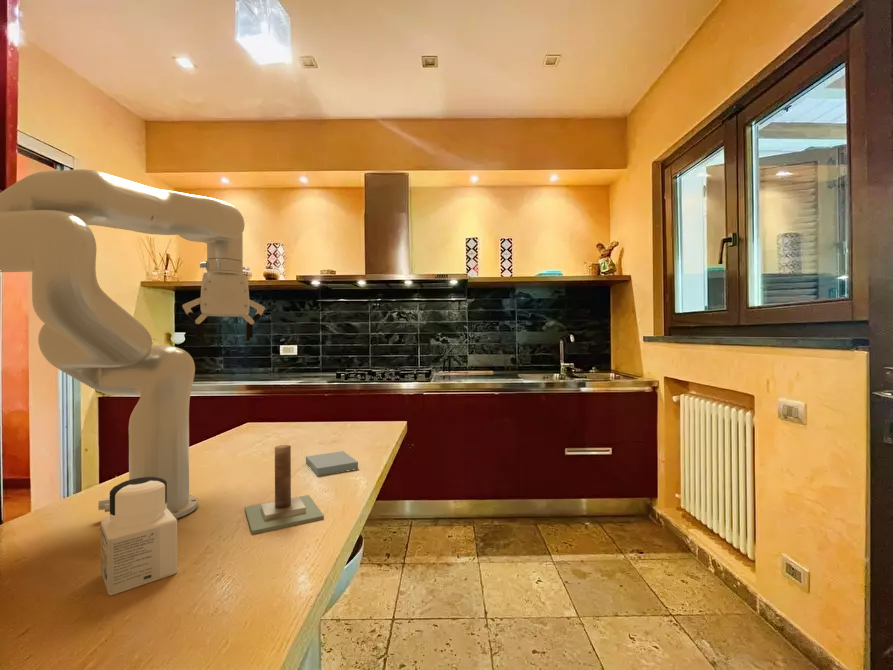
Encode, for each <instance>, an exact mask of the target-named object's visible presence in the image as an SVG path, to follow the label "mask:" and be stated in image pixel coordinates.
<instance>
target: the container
mask: <svg viewBox="0 0 893 670" xmlns="http://www.w3.org/2000/svg"><path fill="white" fill-rule="evenodd" d="M109 498H110V511H109V517H106V518H104V519H102V520H101V522H100V573H101V576H102V577H101V578H102V580H103V582H104V585H105V589H106V592H107V594H108V596H114V595H117V594H120V593H122V592H126V591H128V590H129V591H130V590H131V589H135V588H138V587H140V586H141V587H142V586H144V585H146V584H150V583H153V582H156V581H158V580H162V579H165V578H167V577H170V576H173V575H175V574H177V572H178V518H177V519H176V518H175V517H174V516H173V514H172V513H171V512H170V511H169V510H168V509H167V482H166V481H165V480H164V479H162V478H157V477H142V478H136V479H131V480H129V479H128V480H125V481H122V482H121V483H118V484H117V485H115V486H113V487H112V489H111V490H110V491H109Z"/></svg>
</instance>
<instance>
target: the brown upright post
mask: <svg viewBox="0 0 893 670" xmlns="http://www.w3.org/2000/svg"><path fill="white" fill-rule="evenodd" d="M291 446H292V445H289V444H283V445H277V446H275V447H274V501H275V502H273V501H269V502H270V503H268V502H264V503H265V504H262V503H260V504H261V512H262V514H263V517H264V520H265V521H268V520H273V519H278V518H283V517H288V516H293V515H298V514H303V513H306V507H305V505H304V504H303V502H302V501H301V499H300V498H299V497H300V496H296V497H297V498H295V497H292V478H291V477H292V470H291V469H292V467H291V466H292V465H291V464H292V462H291V461H292V460H291V459H292V453H291V452H292V450H291V449H292V447H291Z"/></svg>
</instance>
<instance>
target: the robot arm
mask: <svg viewBox="0 0 893 670" xmlns="http://www.w3.org/2000/svg"><path fill="white" fill-rule="evenodd" d="M89 226H97V227H104V228H111V229H118V230H123V231H124V230H125V231H131V232H135V233H140V234H141V233H142V234H147V235H160V236H179V237H180V238H182V239H184V240H187V241H189V242H197V243H205V244H206V260H205V261H203V262H201V261H199V268H200V269H203V270H205V271H206V272H203V273H202V279H201V285H200V286H201V287H200V297H198V298H195V299H192V300H191V301H187V302H185V303H183V304H182V309H183V310H184V312H185V314H186V316H187V317H188V318H189V319H191V320H192V321H193V322H194V323H195V324H196V339H200V340H199V341H200V342H204V341H205V325H204V321H205V320H206V318H208V317H221V318H222V317H224V318H225V317H226V318H227V317H228V318H229V317H230V318H233V317H234V318H242V319H243V320H244V321H245V322H246V325H244V328H245V329H244V330H245V332H244V333H245V336H244V337H245V341H246V342H251V339H253V336H254V333H253V331H254V330H253V328H254V327H253V326H254V324H255V323H256V322H257V321H258V320H259V319H260V318H261V317H262V315H263V313H265V309H266V307H265V306H264V305H262V304H260V303H258V302H256V301H254V300H252V299H250V291H249V282H248V277H247V274H244V272H243V271H244V270H243V268H244V267H243V261H244V260H243V258H244V257H243V255H244V254H243V253H244V252H243V250H244V247H243V246H244V244H243V241H244V240H243V237H244V236H243V235H244V234H243V233H244V231H245V220H244V217H243V215H242V213H241V211H240V210H239V209H238V208H237V207H235V206H234V205H233V204H232V203H229V202H227V201H224V200H220V199H216V198H213V197H207V196H202V195H198V194H197V195H196V194H189V193H185V192H179V191H174V190H169V189H160V188H156V187H152V186H148V185H145V184H142V183H139V182H135V181H132V180H128V179H125V178H123V177H119V176H115V175H112V174H110V173H106V172H103V171H98V170H94V169H93V170H92V169H82V168H81V169H67V170H47V171H39V172H34V173H32V174H29V175H26V176H25V177H24V178H22V179H20V180H18V181H16V182H14V183H13V184H11V185H10V186H8V187H7V188H6V189H4V190H2V191H0V270H1V271H0V273H29V272H31V273H32V275H31V300H32V308H33V310H34V312H35V314H36V316H37V317H38V319H39V320H40V321H41V322H43V323H44V324H43V325H42V326H41V328H40V330H39V333H38V339H37V340H38V342H37V343H38V347H39V350H40V352H41V354H42V356H43V357H44V358H45V360H46V361H47V362H48V363H49V364H50V365H51V366H53V367H54V368H57V370H60V371H61V372H63V373H65V374H66V375H68V376H70V377H71V378H73V379H75V380H76V381H78V382H80V383H82V384H83V385H86V386H88V387H89V388H91V389H93V390H95V391H97V392H100V393H102V394H104V395H109V396H120V397H121V396H127V397H129V396H131V397H134V396H135V397H139V399H138V401H137V403H136V405H135V406H134V408H133V410H132V412H131V413H130V417H129V421H128V480H131V479H136V478H142V477H157V478H162V479H164V480H165V481H166V482H167V509H168V510H169V511H170V512H171V513H172V514H173V516H174V517H175V518H176V519H177V520H178V519H179V518H182V517H185V516H187V515H189V514H190V513H192V512H194V511H195V510H196V509H197V508H198V506H199V499H198V497H197V496H195V495H192V494H190V400H191V393H192V388H193V384H194V379H195V375H196V374H195V373H196V365H195V362H194V359H193V357H192V356H191V354H190V353H189V352H188V351H186V350H185V349H183V348H179V347H177V346H173V345H157V344H156V345H155V344H154V345H153V338H152V335H151V334H150V332H149V331H148V329H147V328H146V327H145V326H144V325H143V324H142V323H141V322H140V321H139V320H137V319H136V318H135V317H134V316H133V315H132V314H130V313H129V312H128V311H127V310H126V309H124V308H123V307H122V306H121V305H119V304H118V303H117V302H116V301H114V300H113V299H112V297H110V296H109V295H108V294H107V293H106V292H105V291H104V290H103V289H102V288H101V286H100V284H99V283H98V279H97V272H96V271H97V269H96V266H97V263H96V261H97V241H96V238H95V235H94V233H93V231H92V230H91V228H90V227H89ZM198 305H200V312H201V314H200V315H199V316H197V315H196V314H195V313H194V312H193V310H192V308H194V307H196V306H198ZM250 307H252V308H254V309H256V313H255V314H254V315H253V316H252V317H251V316H250V315H249V313H250ZM103 510H104V513H107V512H109V513H110V497H107V498H106V497H105V498H100V499H99V500H98V511H103Z"/></svg>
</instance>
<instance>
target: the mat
mask: <svg viewBox="0 0 893 670" xmlns="http://www.w3.org/2000/svg"><path fill="white" fill-rule="evenodd" d="M297 497H299V498H300V499H301V501H302V502H303V504H304V505H305V507H306V513H303V514H298V515H293V516H288V517H283V518H278V519H273V520H268V521H265V520H264V517H263V514H262V512H261V504H265V503H266V502H263V503H258V504H252V505H248V506H244V512H245V516H246V518H247V519H246V520H247V522H248V525H249V529H250V533H251V535H255V534H261V533H265V532H269V531H274V530H278V529H285V528H288V527H293V526H297V525H301V524H306V523H307V524H308V523H311V522H316V521H320V520H321V521H322V520H324V518H325V515H324V514H323V513H322V511H321V510H320V508H319V507H318V506H317V504H316V503H315V501H314V500H313V499H312V497H311V496H310V495H309V494H307V495H302V496H295V497H294V498H297ZM270 502H271V501H268V502H267V503H270ZM272 502H275V500H274V501H272Z"/></svg>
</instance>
